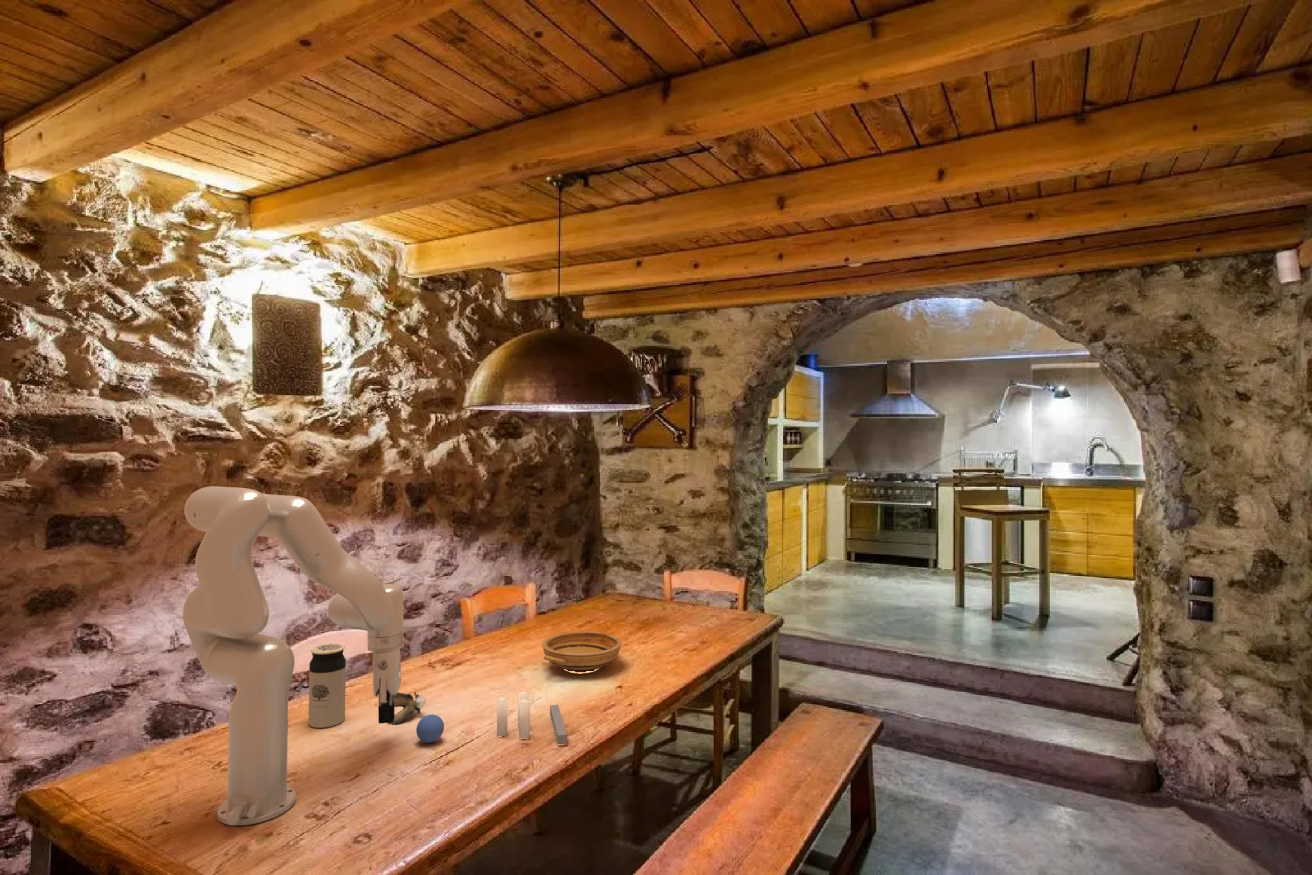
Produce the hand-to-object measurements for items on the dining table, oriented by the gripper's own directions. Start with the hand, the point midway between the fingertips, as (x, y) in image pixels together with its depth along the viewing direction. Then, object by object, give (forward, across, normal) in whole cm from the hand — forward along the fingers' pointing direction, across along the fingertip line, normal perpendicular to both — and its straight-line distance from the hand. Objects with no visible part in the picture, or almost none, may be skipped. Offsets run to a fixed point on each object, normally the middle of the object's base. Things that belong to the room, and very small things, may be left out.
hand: (386, 721), depth 153 cm
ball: (+2, -1, -9) cm, 10 cm away
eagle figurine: (+6, +15, -2) cm, 16 cm away
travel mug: (+6, +16, +16) cm, 23 cm away
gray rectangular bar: (+6, -1, -38) cm, 39 cm away
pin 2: (+6, -3, -30) cm, 31 cm away
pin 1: (+6, +2, -30) cm, 31 cm away
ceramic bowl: (+8, +42, -50) cm, 66 cm away
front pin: (+6, -1, -25) cm, 26 cm away
